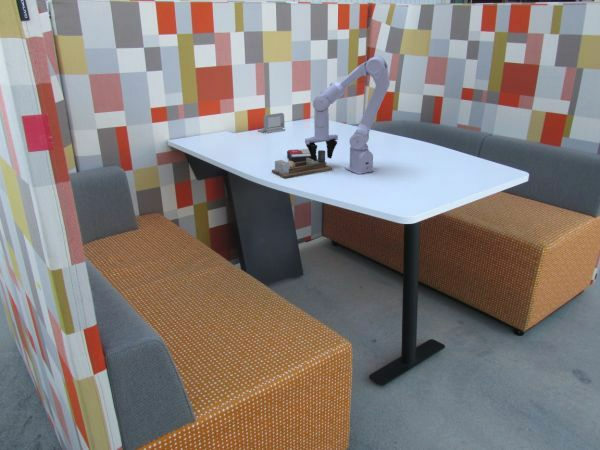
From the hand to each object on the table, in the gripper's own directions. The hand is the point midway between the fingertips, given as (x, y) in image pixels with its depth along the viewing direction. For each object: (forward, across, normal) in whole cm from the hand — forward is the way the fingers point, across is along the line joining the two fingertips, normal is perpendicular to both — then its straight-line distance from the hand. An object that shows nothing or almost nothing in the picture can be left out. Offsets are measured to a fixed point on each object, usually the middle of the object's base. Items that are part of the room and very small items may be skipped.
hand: (321, 159), depth 207 cm
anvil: (+4, +18, 0) cm, 19 cm away
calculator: (+4, 0, -16) cm, 16 cm away
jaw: (+2, +2, 0) cm, 3 cm away
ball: (+1, +15, 0) cm, 15 cm away
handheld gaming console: (+4, -18, -81) cm, 83 cm away
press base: (+4, +9, 0) cm, 10 cm away
